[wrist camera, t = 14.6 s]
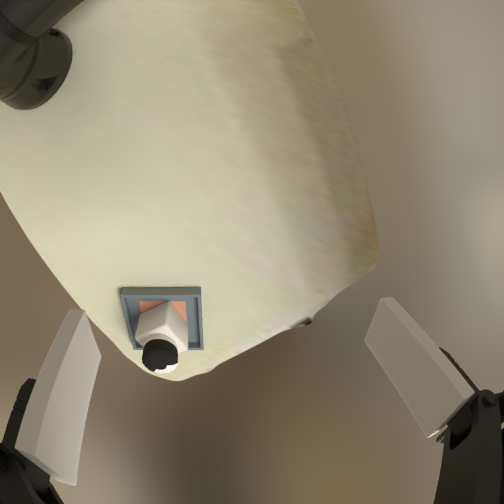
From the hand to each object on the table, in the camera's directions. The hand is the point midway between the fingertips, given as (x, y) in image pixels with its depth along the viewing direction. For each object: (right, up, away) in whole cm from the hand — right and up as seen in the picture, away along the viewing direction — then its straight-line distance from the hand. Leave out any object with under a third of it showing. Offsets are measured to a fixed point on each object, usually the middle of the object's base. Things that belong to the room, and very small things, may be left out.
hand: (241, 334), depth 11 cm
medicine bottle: (-17, -10, +40) cm, 44 cm away
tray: (-17, -9, +40) cm, 45 cm away
